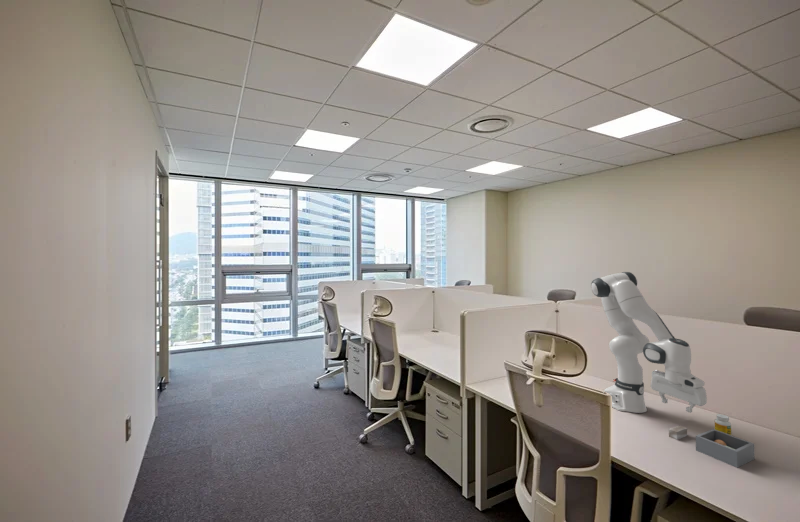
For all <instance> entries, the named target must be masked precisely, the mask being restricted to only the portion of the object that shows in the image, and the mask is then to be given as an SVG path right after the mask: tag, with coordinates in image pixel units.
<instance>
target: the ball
mask: <svg viewBox="0 0 800 522" xmlns="http://www.w3.org/2000/svg"><path fill="white" fill-rule="evenodd" d="M714 442H716V443H719V444H721V445H724V446H727V445H726V443H725V442H724V441H722V440H715V441H714Z"/></svg>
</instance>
